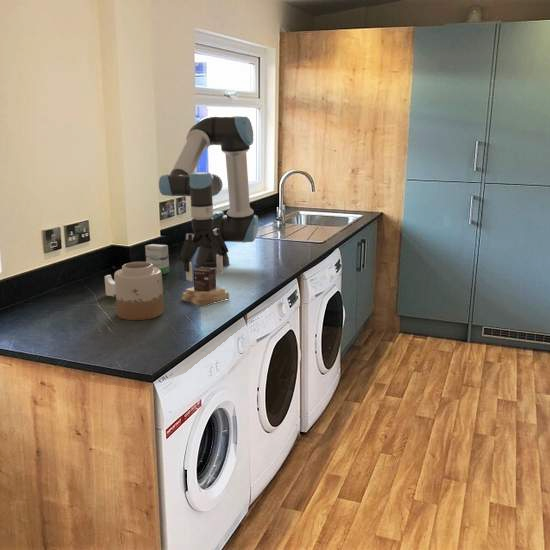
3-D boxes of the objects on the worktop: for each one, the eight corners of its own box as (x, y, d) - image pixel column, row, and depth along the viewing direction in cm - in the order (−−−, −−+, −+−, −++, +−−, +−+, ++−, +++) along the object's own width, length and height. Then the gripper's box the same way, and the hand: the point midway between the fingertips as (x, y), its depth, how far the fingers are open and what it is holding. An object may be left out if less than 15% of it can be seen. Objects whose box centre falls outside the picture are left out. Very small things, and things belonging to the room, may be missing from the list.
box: (193, 290, 216) (192, 270, 214) (201, 285, 222) (201, 266, 220) (208, 291, 214) (208, 271, 212) (216, 287, 219) (216, 267, 218)
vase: (124, 306, 212) (120, 259, 208) (167, 306, 211) (165, 259, 207) (111, 320, 197) (107, 270, 193) (158, 320, 197) (155, 270, 192)
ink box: (170, 272, 258) (168, 244, 255) (163, 274, 254) (161, 247, 251) (153, 270, 262) (151, 243, 259) (146, 272, 257) (144, 245, 254)
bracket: (122, 298, 223) (120, 278, 221) (106, 296, 225) (104, 276, 223) (142, 288, 234) (141, 269, 232) (127, 287, 237) (125, 268, 235)
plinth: (182, 299, 219) (181, 288, 218) (208, 292, 227) (208, 282, 226) (202, 306, 211) (201, 295, 210) (229, 299, 219) (228, 288, 218)
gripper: (178, 224, 200) (182, 285, 206) (236, 214, 217) (238, 271, 223) (166, 221, 206) (169, 281, 211) (223, 211, 222) (225, 267, 228)
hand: (205, 276), depth 217 cm, fingers open, 13 cm apart
